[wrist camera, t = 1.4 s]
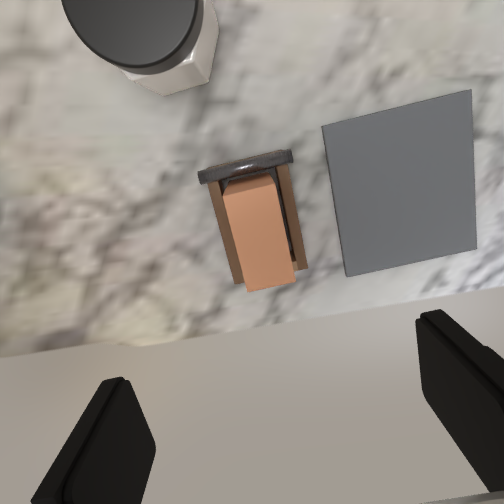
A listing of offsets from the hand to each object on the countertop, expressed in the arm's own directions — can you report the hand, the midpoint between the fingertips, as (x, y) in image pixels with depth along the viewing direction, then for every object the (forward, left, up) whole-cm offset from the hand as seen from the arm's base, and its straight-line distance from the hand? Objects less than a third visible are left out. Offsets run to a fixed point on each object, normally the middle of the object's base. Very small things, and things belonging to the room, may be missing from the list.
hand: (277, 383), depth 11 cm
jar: (+4, -17, -27) cm, 32 cm away
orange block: (0, 0, -27) cm, 27 cm away
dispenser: (0, 0, -26) cm, 26 cm away
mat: (-15, +1, -27) cm, 30 cm away
